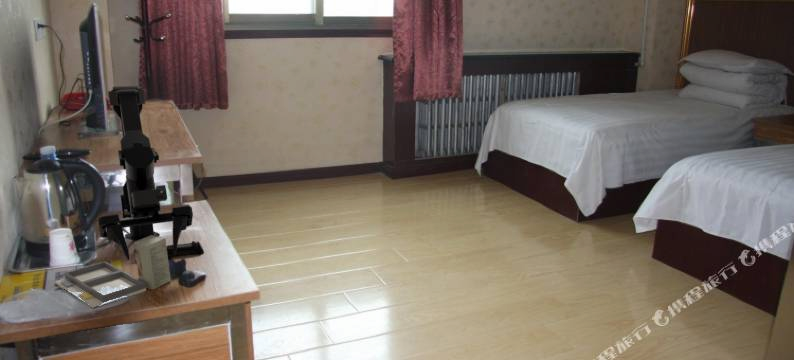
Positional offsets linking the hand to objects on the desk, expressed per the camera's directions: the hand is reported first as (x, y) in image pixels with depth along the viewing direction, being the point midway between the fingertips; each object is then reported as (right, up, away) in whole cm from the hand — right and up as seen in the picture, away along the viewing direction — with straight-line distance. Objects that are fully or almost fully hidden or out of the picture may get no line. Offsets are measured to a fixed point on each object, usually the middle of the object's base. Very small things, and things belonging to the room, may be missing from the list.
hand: (152, 256), depth 132 cm
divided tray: (-11, -7, +1) cm, 13 cm away
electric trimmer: (-3, -3, +19) cm, 19 cm away
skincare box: (-1, -7, +3) cm, 7 cm away
